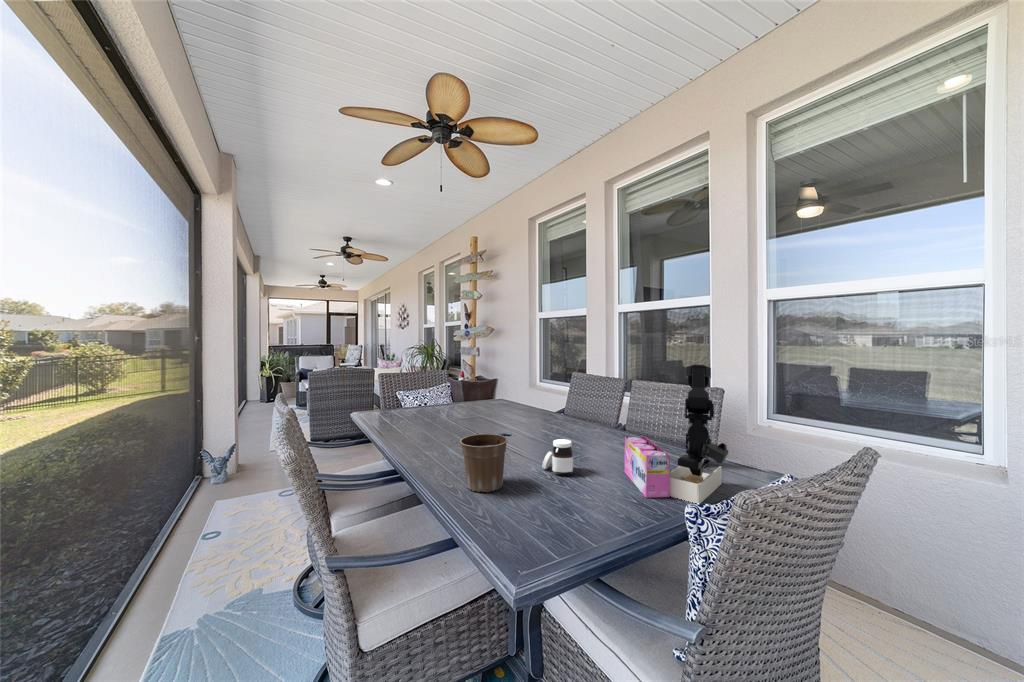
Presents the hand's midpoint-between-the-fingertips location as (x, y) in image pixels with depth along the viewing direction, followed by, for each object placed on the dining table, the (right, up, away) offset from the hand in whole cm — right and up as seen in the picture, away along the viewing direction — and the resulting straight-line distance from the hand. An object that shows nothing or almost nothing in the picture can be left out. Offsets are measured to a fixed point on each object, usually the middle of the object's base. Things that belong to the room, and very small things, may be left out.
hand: (697, 482), depth 131 cm
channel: (0, -4, +4) cm, 5 cm away
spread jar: (-43, -4, +21) cm, 48 cm away
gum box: (-14, -4, +8) cm, 17 cm away
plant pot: (-69, -4, +8) cm, 70 cm away
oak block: (-2, -1, -3) cm, 4 cm away
